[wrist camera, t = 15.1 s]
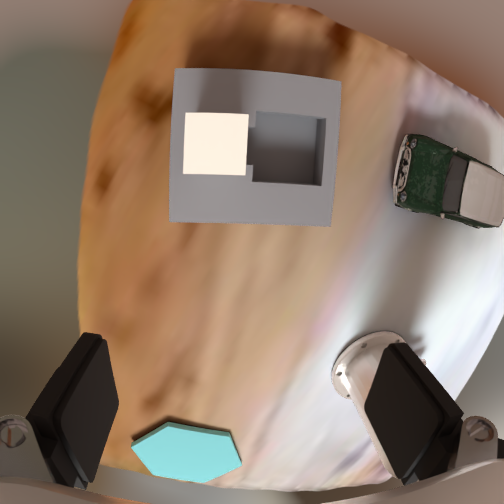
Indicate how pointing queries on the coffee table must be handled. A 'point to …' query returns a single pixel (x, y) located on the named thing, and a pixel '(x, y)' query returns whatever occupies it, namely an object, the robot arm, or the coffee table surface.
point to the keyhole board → (260, 148)
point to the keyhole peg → (215, 143)
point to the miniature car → (447, 183)
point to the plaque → (187, 452)
